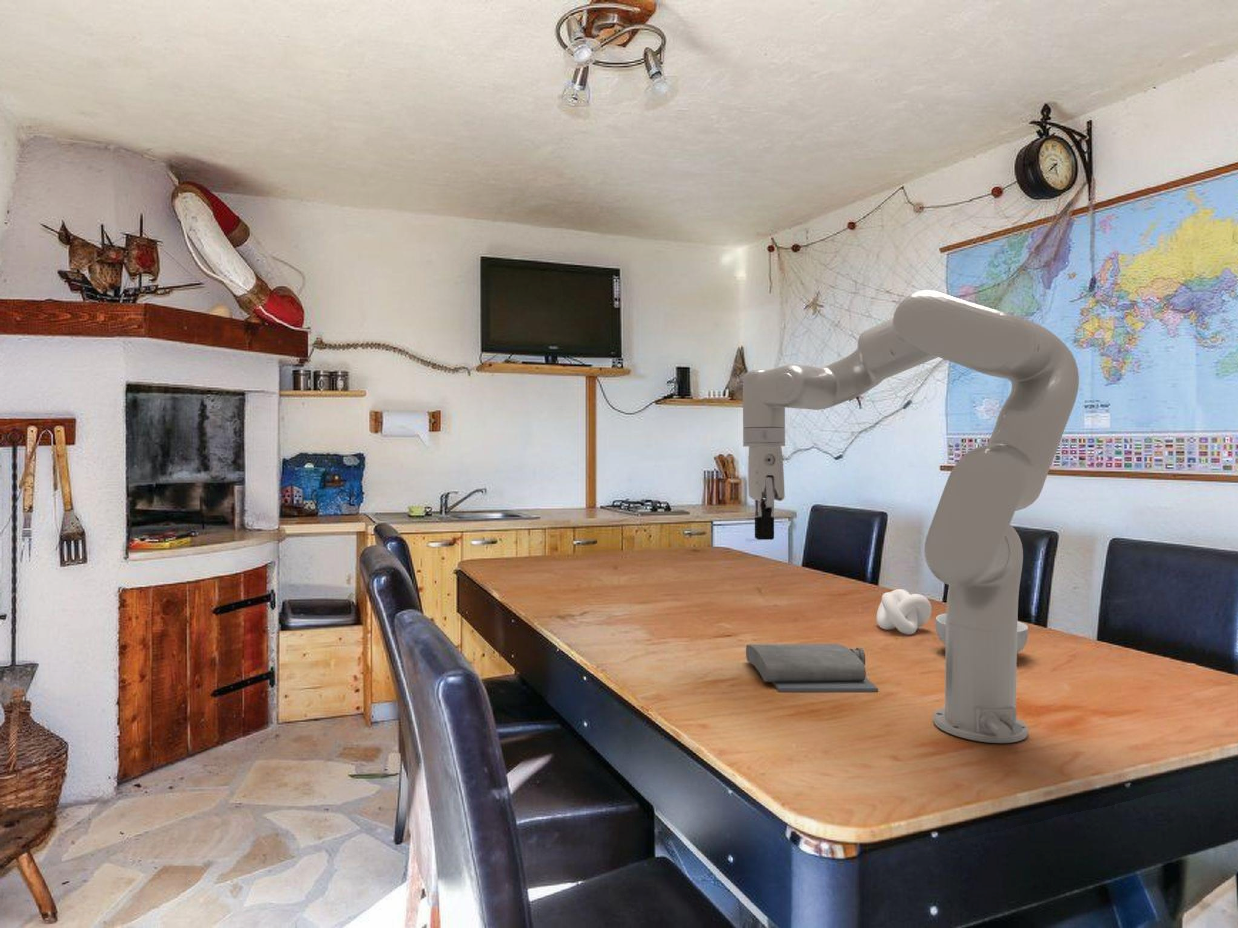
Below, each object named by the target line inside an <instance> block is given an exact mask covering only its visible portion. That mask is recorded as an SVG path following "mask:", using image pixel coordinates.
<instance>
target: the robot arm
mask: <svg viewBox="0 0 1238 928" xmlns="http://www.w3.org/2000/svg"><path fill="white" fill-rule="evenodd" d="M938 358H940V359H943V360H945V361H949V362H951V363H954V364H957V365H959V366H962V367H964V368H967V369H970V370H972V371H975V372H978V373H980V374H983V375H987V376H990V377H994V378H996V377H997V378H1000V379H1004V380H1005V379H1007V380H1008V381H1010V384H1011V390H1010V393H1009V395H1008V397H1007V398H1006V401H1005V402H1004V403H1003V406H1002V407H1001V409H1000V412H999V413H998V415H997V420H996V422H995V426H994V428H993V431H992V433H991V434H990V438H989V440H988V442H987V444H986V445H982V446H978V447H976V448H973V449H971V450H970V451H969V450H968V452H966V453H964V455H962V456H961V457H960V458H959V460H958V461H957V462H956V463H955V464H954V466H953V468H952V470H951V471H950V473H949V475H948V478H947V480H946V484H945V485H944V488H943V490H942V494H941V496H940V499H939V501H938V504H937V507H936V509H935V512H934V515H933V516H932V517H933V518H932V520H931V523H930V526H929V529H928V531H927V534H926V536H925V537H926V538H925V542H924V558H925V562H926V565H927V567H928V569H929V570H930V572H931V573H932V574H933V576H934V577H935V578H936V579H937V580H938V581H940V582H942V583H943V584H946V585H948V587H947V588H948V590H947V596H946V645H945V662H944V663H945V664H944V667H945V671H944V673H945V674H944V675H945V676H944V679H945V680H944V707H942V708H939V709H937V710H936V711H934V713H933V723H934V724H935V726H936V727H937V728H939V729H940V730H942V731H943V732H945V733H948V734H949V735H952V736H955V737H959V738H961V739H966V740H970V741H974V742H982V743H989V744H991V743H992V744H1011V743H1018V742H1020V741H1022V740H1025V739H1026V738H1027V737H1028V731H1029V729H1028V725H1027V724H1026V723H1025V722H1024V721H1022V720H1021V719H1020V718H1018V717H1017V670H1018V669H1017V666H1018V665H1017V662H1018V661H1017V660H1018V656H1017V655H1018V653H1017V627H1018V621H1019V620H1018V618H1019V617H1018V613H1019V612H1018V611H1019V595H1020V593H1019V592H1020V584H1021V579H1022V578H1021V577H1022V571H1023V562H1024V553H1023V552H1024V549H1023V544H1022V543H1023V542H1022V541H1021V538H1020V535H1019V533H1018V532H1017V531H1016V529H1015V528H1014V526H1012V524H1011V522H1012V519H1013V518H1014V515H1015V512H1017V511H1020V510H1024V509H1026V508H1028V507H1030V506H1032V505H1033V504H1034V503H1035V502H1036V501H1037V500H1038V498H1039V497H1040V495H1041V493H1042V491H1043V488H1044V486H1045V485H1044V484H1045V483H1046V480H1047V476H1048V475H1049V472H1050V468H1051V466H1052V463H1053V461H1054V459H1055V456H1056V454H1057V451H1058V448H1059V446H1060V443H1061V440H1062V437H1063V434H1064V432H1065V430H1066V427H1067V424H1068V421H1069V419H1070V416H1071V414H1072V411H1073V408H1074V405H1075V404H1076V399H1077V396H1078V391H1079V386H1080V385H1079V384H1080V375H1079V368H1078V363H1077V361H1076V358H1075V356H1074V355H1073V352H1072V351H1071V350H1070V348H1069V347H1068V346H1067V344H1065V342H1063V340H1062V339H1060V337H1058V336H1057V335H1056V334H1055V333H1053V332H1052V331H1050V329H1047V328H1046V327H1044V326H1042V325H1041V324H1039V323H1035V322H1034V321H1031V320H1028V319H1024V318H1023V317H1020V316H1018V315H1015V314H1012V313H1008V312H1005V311H1002V310H998V309H995V308H992V307H988V306H985V305H981V304H979V303H975V302H971V301H969V300H965V299H962V298H958V297H955V296H952V295H950V294H948V293H945V292H942V291H940V290H936V289H930V288H929V289H928V288H927V289H920V290H916V291H915V292H912V293H910V294H909V295H907V296H906V297H905V298H903V299H902V300H901V301H900V303H899V304H898V305H897V307H896V308H895V311H894V312H893V318H890V319H888V320H886V321H883V322H882V323H879V324H877V325H875V326H872V327H870V328H868V329H866V330H864V331H862V332H861V333H860V335H859V337H858V340H857V348H856V350H855V351H853V352H852V353H850V354H849V355H846V356H845V357H843V358H842V359H839V360H837V361H834V362H833V363H830V364H828V365H825V366H822V367H816V366H810V365H802V364H786V365H782V366H779V367H776V368H771V369H755V370H750V371H747V372H746V373H744V375H743V378H742V446H743V447H748V456H747V457H748V466H747V467H748V469H747V471H748V473H747V475H748V476H747V482H748V483H747V484H748V486H747V487H748V496H749V498H750V499H752V500H754V539H756V540H759V541H760V540H761V541H762V540H764V541H768V540H769V541H771V540H774V538H775V516H774V515H775V501H779V502H781V501H783V500H784V499H785V496H786V495H785V494H786V493H785V476H784V475H785V473H784V471H785V470H784V458H783V451H782V450H783V449H782V447H786V408H788V409H789V408H790V409H799V410H802V409H803V410H812V411H813V410H814V411H819V410H821V411H822V410H826V409H829V408H832V407H834V406H837V405H840V404H843V403H845V402H847V401H850V400H853V399H855V398H858V397H859V396H862V395H863V394H866V393H867V392H869V391H870V390H872V389H873V388H875V387H876V386H878V385H879V384H880V383H882V382H883V381H884V380H886V379H888V378H891V377H893V376H895V375H899V374H901V373H903V372H905V371H907V370H908V371H909V370H910V369H913V368H916V367H917V366H920V365H922V364H925V363H927V362H930V361H933V360H935V359H938Z"/></svg>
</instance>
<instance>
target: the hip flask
mask: <svg viewBox="0 0 1238 928" xmlns="http://www.w3.org/2000/svg"><path fill="white" fill-rule="evenodd" d="M745 658H746V661H747V662H748V663H751V664H752V665H753V666H754V667H755V668H756V670H757V671H758V672H759V674H760V676H761V678H762V680H763V682H764V683H772V682H811V681H864V680H865V677H866V676H867V672H866V671H867V670H866V667H865V665H866V654H865V650H864V649H863V648H862V647H856V648H848V647H847V646H845V645H843V644H839V643H801V644H800V643H799V644H798V643H794V644H793V643H789V644H784V643H783V644H781V643H780V644H778V643H777V644H776V643H775V644H773V643H772V644H766V643H765V644H747V645H746V647H745ZM866 678H867V677H866Z"/></svg>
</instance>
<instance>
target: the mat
mask: <svg viewBox="0 0 1238 928" xmlns="http://www.w3.org/2000/svg"><path fill="white" fill-rule="evenodd" d="M771 684H772V685H773V686H774V687H775V689H776V690H777V692H778V693H878V692H879V688H878V687H877V686H876V685H875V684H874V683H872V681H870V680H869V679H868V678H867V677H865V680H864V681H811V682H771Z"/></svg>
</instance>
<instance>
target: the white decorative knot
mask: <svg viewBox="0 0 1238 928" xmlns="http://www.w3.org/2000/svg"><path fill="white" fill-rule="evenodd" d="M931 615H932V605H931V602H930V600H929V599H928V598H927V597H926V596H925V595H922V594H919V593H910V592H908V591H907V590H906V589H902V588H897V589H894V590H892V591H888V592H885V593H882V595H881V602H880V603H879V605H878V608H877V611H876V617H875V618H876V623H877V625H878V627H880V628H881V629H883V630H886V631H888V630H890V631H891V630H894V629H895V628H896V629H897V630H898V631H899V633H901V634H904V635H907V636H910V635H914V633H916V632H917V630H918V629H919V628H921V627H923V626H924V625H925V624H926V623H927V622H928V621H929V620H930V617H931Z"/></svg>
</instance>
